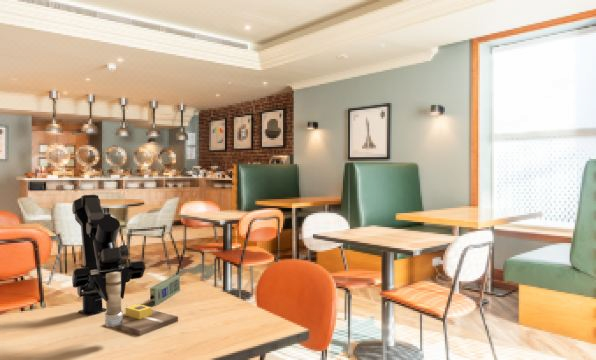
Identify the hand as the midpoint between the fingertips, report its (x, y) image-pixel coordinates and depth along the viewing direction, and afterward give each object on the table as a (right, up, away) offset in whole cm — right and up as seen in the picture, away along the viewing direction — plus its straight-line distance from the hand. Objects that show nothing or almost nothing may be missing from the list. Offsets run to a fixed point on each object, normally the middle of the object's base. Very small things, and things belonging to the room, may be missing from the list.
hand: (114, 299), depth 118 cm
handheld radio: (0, -12, +41) cm, 43 cm away
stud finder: (-1, -10, +19) cm, 22 cm away
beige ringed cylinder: (-1, -7, +1) cm, 7 cm away
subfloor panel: (+1, -12, +17) cm, 21 cm away
